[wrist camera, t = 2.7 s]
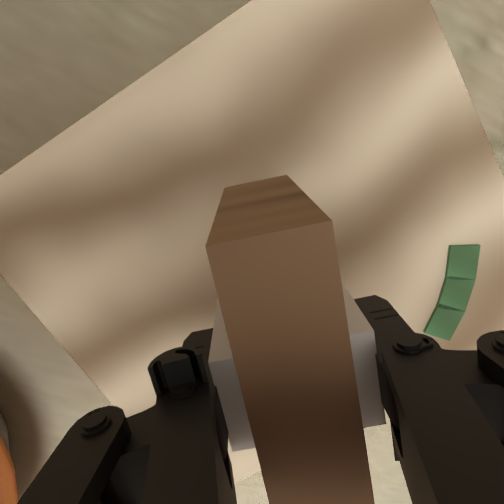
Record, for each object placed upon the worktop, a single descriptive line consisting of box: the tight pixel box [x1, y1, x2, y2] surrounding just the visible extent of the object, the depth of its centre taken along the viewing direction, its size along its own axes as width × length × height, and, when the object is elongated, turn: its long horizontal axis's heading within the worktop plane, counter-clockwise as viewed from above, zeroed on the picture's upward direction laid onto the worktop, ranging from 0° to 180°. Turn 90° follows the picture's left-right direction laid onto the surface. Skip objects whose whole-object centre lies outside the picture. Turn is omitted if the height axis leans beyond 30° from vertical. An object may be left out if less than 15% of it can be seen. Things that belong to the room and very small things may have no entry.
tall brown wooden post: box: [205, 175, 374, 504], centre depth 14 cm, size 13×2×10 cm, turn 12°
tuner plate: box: [0, 0, 504, 484], centre depth 20 cm, size 20×22×2 cm
